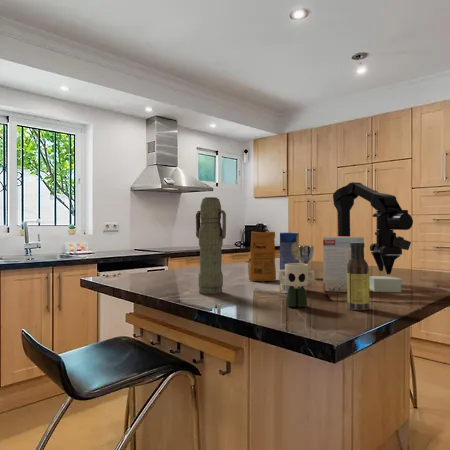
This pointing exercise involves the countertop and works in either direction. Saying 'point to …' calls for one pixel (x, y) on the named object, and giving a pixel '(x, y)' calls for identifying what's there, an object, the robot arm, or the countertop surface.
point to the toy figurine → (296, 282)
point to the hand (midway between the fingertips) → (384, 272)
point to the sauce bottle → (357, 279)
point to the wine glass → (306, 254)
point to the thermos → (210, 245)
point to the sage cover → (385, 284)
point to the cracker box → (336, 262)
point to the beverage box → (288, 254)
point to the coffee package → (262, 257)
